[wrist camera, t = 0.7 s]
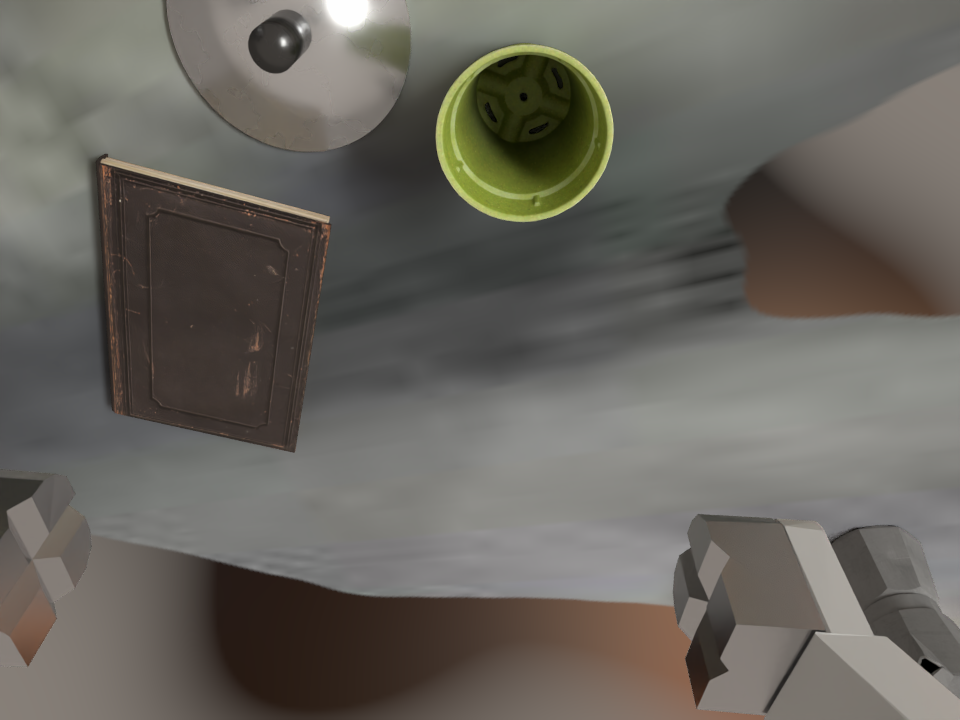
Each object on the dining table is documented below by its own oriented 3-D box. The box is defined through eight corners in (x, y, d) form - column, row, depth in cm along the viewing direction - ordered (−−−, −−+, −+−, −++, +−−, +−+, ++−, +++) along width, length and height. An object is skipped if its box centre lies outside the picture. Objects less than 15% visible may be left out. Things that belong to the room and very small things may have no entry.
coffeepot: (801, 529, 67) (879, 717, 53) (905, 498, 64) (1017, 689, 50) (842, 612, 75) (919, 795, 61) (936, 587, 72) (1041, 775, 57)
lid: (211, -176, 37) (176, -178, 33) (454, -19, 41) (448, -4, 37) (145, 75, 44) (111, 97, 41) (355, 185, 48) (341, 215, 44)
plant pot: (420, 61, 43) (401, 104, 36) (558, -22, 40) (567, 8, 33) (492, 188, 48) (488, 247, 41) (621, 122, 45) (640, 175, 38)
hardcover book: (337, 211, 50) (330, 226, 48) (300, 435, 63) (294, 453, 62) (107, 150, 48) (90, 162, 46) (120, 394, 61) (108, 412, 59)
